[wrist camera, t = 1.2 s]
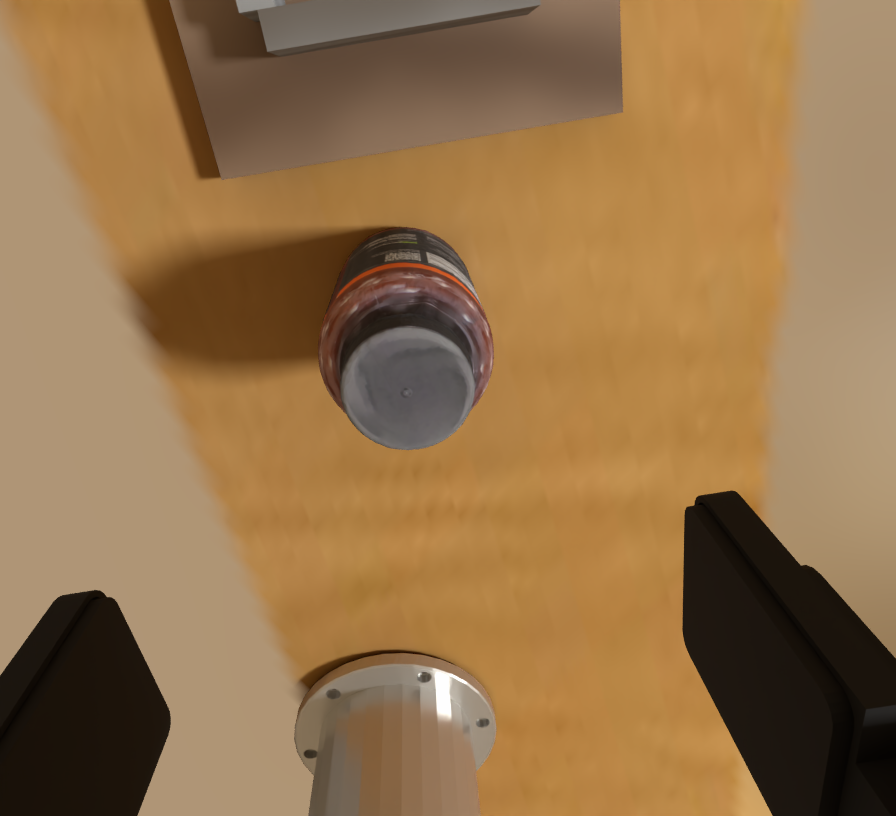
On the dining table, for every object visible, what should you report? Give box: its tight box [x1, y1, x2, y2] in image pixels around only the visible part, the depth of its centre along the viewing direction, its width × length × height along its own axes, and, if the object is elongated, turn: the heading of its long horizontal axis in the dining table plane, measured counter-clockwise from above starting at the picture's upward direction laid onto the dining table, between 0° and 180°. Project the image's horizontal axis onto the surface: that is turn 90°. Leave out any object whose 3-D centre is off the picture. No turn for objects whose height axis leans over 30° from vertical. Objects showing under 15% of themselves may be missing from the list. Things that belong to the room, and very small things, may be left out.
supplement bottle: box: [318, 227, 494, 450], centre depth 24 cm, size 6×6×11 cm
